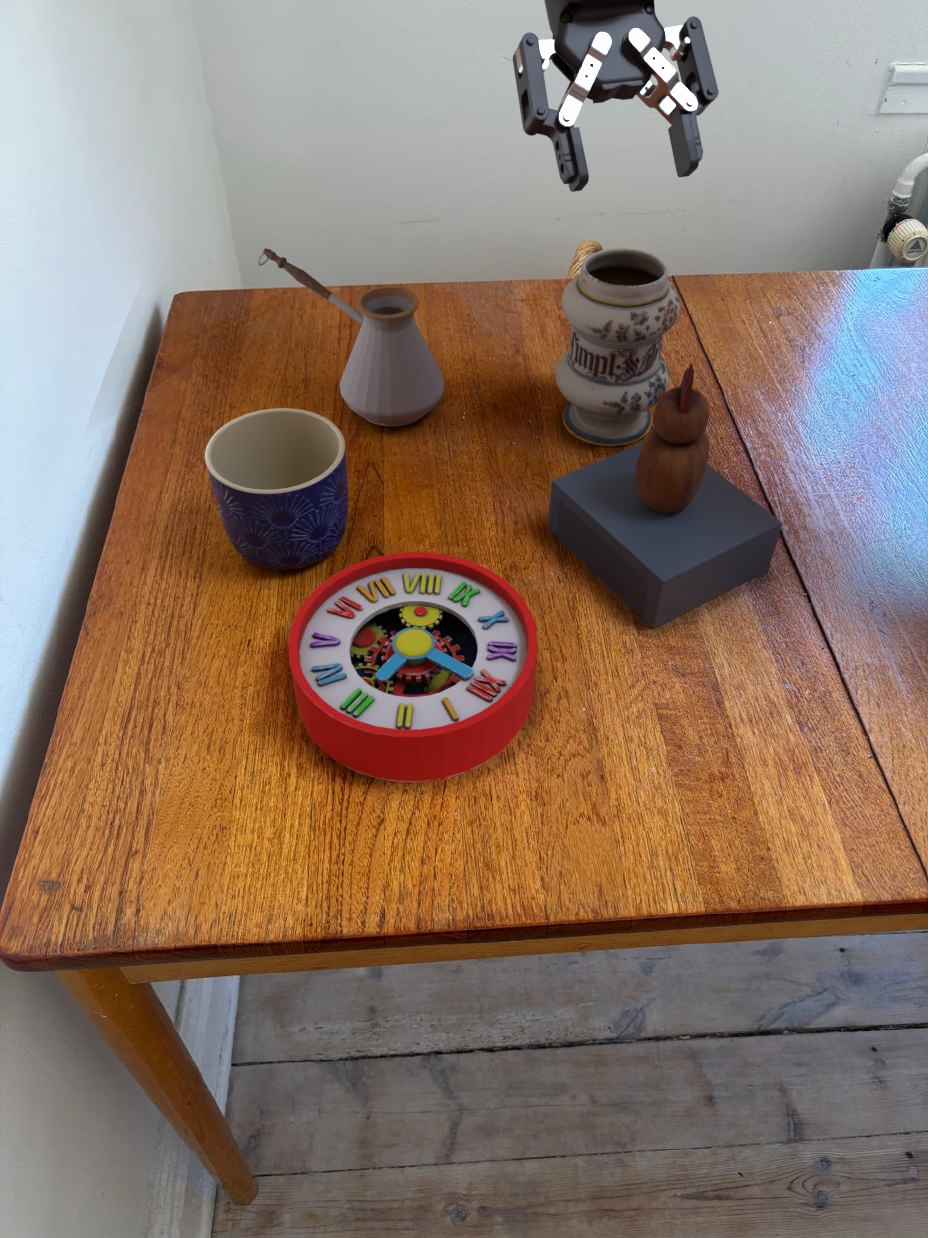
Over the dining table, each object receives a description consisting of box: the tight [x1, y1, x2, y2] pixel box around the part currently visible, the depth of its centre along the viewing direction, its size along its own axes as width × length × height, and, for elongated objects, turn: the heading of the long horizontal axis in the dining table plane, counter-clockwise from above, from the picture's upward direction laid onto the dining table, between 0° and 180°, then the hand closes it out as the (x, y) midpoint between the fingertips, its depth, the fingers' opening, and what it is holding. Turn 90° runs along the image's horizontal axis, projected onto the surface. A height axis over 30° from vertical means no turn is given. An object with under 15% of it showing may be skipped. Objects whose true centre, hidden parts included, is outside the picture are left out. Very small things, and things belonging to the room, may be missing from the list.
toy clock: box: [287, 551, 538, 783], centre depth 83 cm, size 20×6×20 cm
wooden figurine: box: [635, 363, 711, 513], centre depth 87 cm, size 7×6×15 cm
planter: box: [204, 407, 349, 571], centre depth 94 cm, size 12×12×11 cm
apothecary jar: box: [554, 247, 681, 447], centre depth 105 cm, size 12×12×18 cm
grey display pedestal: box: [547, 441, 783, 630], centre depth 95 cm, size 14×16×6 cm
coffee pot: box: [257, 248, 446, 428], centre depth 109 cm, size 21×12×15 cm, turn 62°
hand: (635, 179), depth 72 cm, fingers open, 8 cm apart
